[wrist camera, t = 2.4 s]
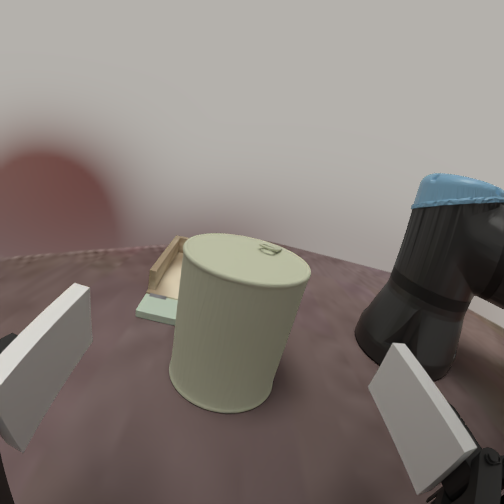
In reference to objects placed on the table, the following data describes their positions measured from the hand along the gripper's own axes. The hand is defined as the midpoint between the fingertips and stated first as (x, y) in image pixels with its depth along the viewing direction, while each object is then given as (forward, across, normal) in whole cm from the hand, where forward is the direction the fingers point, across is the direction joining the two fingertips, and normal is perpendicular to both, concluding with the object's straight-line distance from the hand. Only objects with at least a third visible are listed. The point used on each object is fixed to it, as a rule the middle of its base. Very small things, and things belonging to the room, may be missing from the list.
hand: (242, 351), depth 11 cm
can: (+10, 0, -11) cm, 15 cm away
